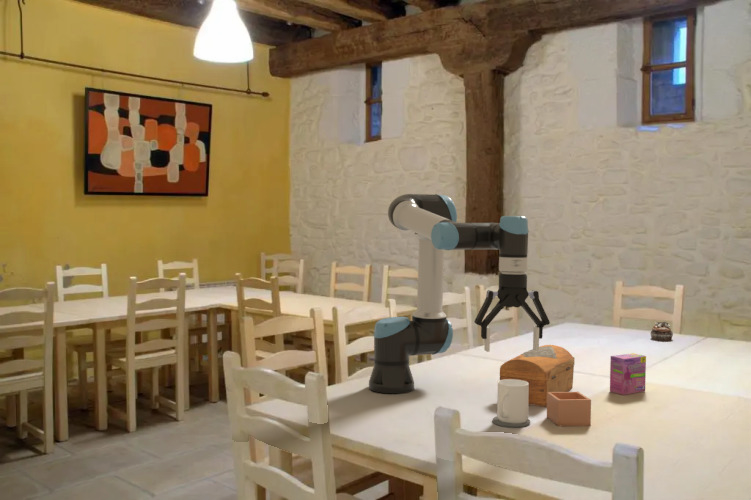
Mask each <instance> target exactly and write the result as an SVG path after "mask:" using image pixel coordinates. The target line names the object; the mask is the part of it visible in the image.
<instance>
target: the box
mask: <svg viewBox="0 0 751 500" xmlns="http://www.w3.org/2000/svg"><path fill="white" fill-rule="evenodd" d="M609 364H610V367H609V369H610V370H609V392H611V393H614V394H617V395H621V396H625V395H630V394H636V393H643V392H646V374H647V373H646V370H647V369H646V368H647V356H646V355H643V354H640V353H639V354H638V353H634V352H632V353H626V354H625V353H623V354H615V355H611V356H610V363H609Z"/></svg>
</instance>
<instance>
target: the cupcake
mask: <svg viewBox="0 0 751 500" xmlns="http://www.w3.org/2000/svg"><path fill="white" fill-rule="evenodd" d="M673 335H674V334H673V331H672V329H671V325H670V324H669V323H668V322H666V321H663V322H662V321H661V322H658V321H656V322H654V325H653V326H652V328H651V331H650V337H651V338H650V339H651V340H653V341H659V342H668V341H669V342H670V341H672V338H673Z"/></svg>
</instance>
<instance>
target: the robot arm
mask: <svg viewBox="0 0 751 500" xmlns="http://www.w3.org/2000/svg"><path fill="white" fill-rule="evenodd" d="M387 216H388V219H389V222H390V223H391V224H392V225H393V226H394V227H395V228H397V229H399V230H402V231H410V232H413V233H414V235H415V236H416V238H417V239H418V261H417V294H416V295H417V296H416V297H417V299H416V310H415V311H414V312H413V313H412V317H411V320H410V318H409V317H407V316H392V317H385V318H383V319H379V320H378V321H376V322H375V324H374V333H373V340H374V341H373V342H374V345H373V349H374V351H373V353H374V354H373V357H374V358H373V363H374V364H373V367H372V371H371V374H370V377H369V380H368V389H369V391H372V392H376V393H380V394H381V393H383V394H402V393H403V394H404V393H408V392H411V391H414V390H415V380H414V377H413V374H412V370H411V367H410V356H413V357H414V356H423V355H424V356H425V355H438V354H443V353H445V352H447V350H448V349H450V347H451V344H452V342H453V337H454V329H453V325H452V322H451V320H449V319H448V318H447V314H446V313H445V312H444V310H443V299H444V297H443V296H444V294H443V293H444V270H445V269H444V266H445V251H455V250H457V251H458V250H459V251H460V250H497V251H498V250H499V253H498V255H499V257H498V259H499V260H498V271H499V272H500V273H499V274H498V290H497V291H493V290H489V289H488V290H487V291H486V297H485V300H484V302H483V303H482V305H481V307H480V309H479V311H478V313H477V315H476V317H475V319H474V322H473V323H475V324H476V325H477V326H479V327H480V337H481V339H483V340H484V346H483V347H484V348H483V349H484V351H486V352H487V353H490V350H491V349H490V348H491V347H490V346H491V345H490V344H491V342H490V341H491V339H490V338H491V328H490V326H489V324H490V323H491V322H492V321H493V320H494V319H495V318H496V316H497V315H498V314H499V313H500V312H501V311H502V310H503V309H504V308H505V307H506V308H513V307H514V308H520V307H521V308H522V309H523V310H524V311H525V312H526V314H527V315H528V316H529V317H530V319H531V320H532V322H533V323H534V324H535V325H533V328H532V329H533V334H532V336H533V337H532V349H533V350H535V351H539V347H540V339H541V340H542V339H543V335H544V334H543V333H544V332H543V328H545V326H547V325H550V323H551V322H550V319H549V318H548V315H547V313H546V311H545V308H544V307H543V305H542V302H541V300H540V295H539V291H537V290H535V289H534V290H533V289H532V291H531V290H530V291H528V289H527V288H528V275H527V271H528V252H529V251H528V249H529V247H528V245H529V225H528V224H529V221H528V217H526V216H524V215H521V216H520V215H502V216H501V217H500V219H499V222H458V221H457V220H458V214H457V208H456V205H455V202H454V201H453V199H452V198H450V197H449V196H448V195H444V194H437V193H435V194H429V193H428V194H427V193H426V194H425V193H421V194H420V193H417V194H415V193H406V194H402V195H399V196H397V197H396V198H395V199H393V200H392V201H391V203H390V204H389V205H388V209H387ZM496 297H497V299H499V300H498V302H497V303H496V304H495V306H494V307H493V308H492V309H491V311H489V313H488V314H487V312H488V310H489V308H490V306H491V304H492V302H493V300H494V299H496ZM528 297H529V299H530V300H531V299H532V302H533V304H534V306H535V309H536V310H537V312H538V315H539V317H540V318H539V317H538V316H537V315H536V313H535V312H534V311H533V309H532V308H531V307H530V306H529V304H528V303H527V302H526V301H527V298H528ZM486 314H487V315H486ZM540 319H541V320H540Z"/></svg>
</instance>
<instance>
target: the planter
mask: <svg viewBox="0 0 751 500" xmlns="http://www.w3.org/2000/svg"><path fill="white" fill-rule="evenodd" d="M591 415H592V399H591V398H589V397H587V396H586V395H584V394H583V393H581V392H580V391H568V392H547V406H546V418H547V419H548V420H550V421H551V422H552V423H553V424H555V425H556V426H557V427H577V426H578V427H581V426H584V427H586V426H587V427H588V426H591V424H592V421H591V419H592V416H591Z"/></svg>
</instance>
